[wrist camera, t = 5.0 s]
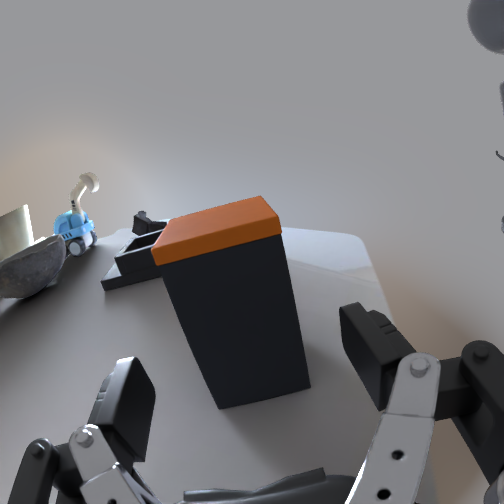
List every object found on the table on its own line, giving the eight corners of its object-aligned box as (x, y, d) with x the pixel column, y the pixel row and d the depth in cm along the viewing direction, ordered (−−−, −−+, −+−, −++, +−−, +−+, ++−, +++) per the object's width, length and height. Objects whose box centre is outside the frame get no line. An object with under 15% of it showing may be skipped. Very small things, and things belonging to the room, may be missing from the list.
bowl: (63, 265, 58) (50, 231, 56) (89, 273, 47) (72, 230, 45) (-3, 302, 46) (-18, 267, 43) (4, 323, 35) (-18, 277, 32)
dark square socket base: (195, 234, 53) (188, 212, 52) (186, 270, 38) (176, 240, 37) (132, 252, 53) (125, 231, 52) (104, 291, 38) (93, 264, 37)
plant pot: (6, 279, 64) (-14, 225, 58) (49, 258, 71) (30, 203, 65) (-4, 295, 52) (-29, 231, 46) (45, 271, 58) (22, 205, 53)
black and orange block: (292, 335, 21) (261, 195, 18) (312, 388, 16) (278, 215, 13) (216, 354, 21) (169, 219, 18) (217, 410, 16) (150, 249, 13)
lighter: (167, 244, 61) (172, 222, 58) (162, 248, 59) (166, 225, 57) (137, 228, 62) (140, 206, 60) (131, 231, 60) (134, 209, 58)
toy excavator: (107, 248, 61) (82, 172, 55) (53, 264, 62) (29, 196, 57) (121, 236, 69) (100, 168, 63) (70, 252, 70) (49, 189, 65)
